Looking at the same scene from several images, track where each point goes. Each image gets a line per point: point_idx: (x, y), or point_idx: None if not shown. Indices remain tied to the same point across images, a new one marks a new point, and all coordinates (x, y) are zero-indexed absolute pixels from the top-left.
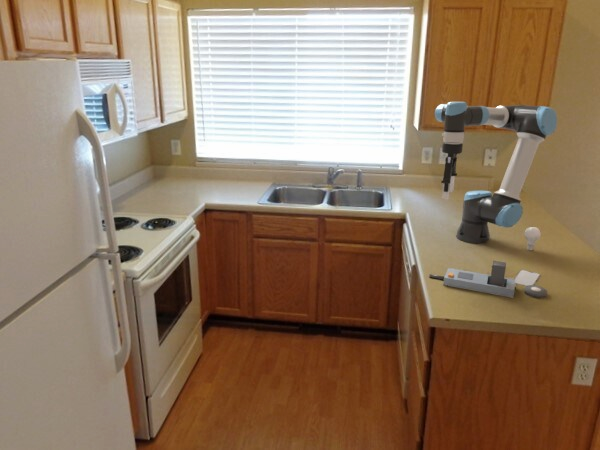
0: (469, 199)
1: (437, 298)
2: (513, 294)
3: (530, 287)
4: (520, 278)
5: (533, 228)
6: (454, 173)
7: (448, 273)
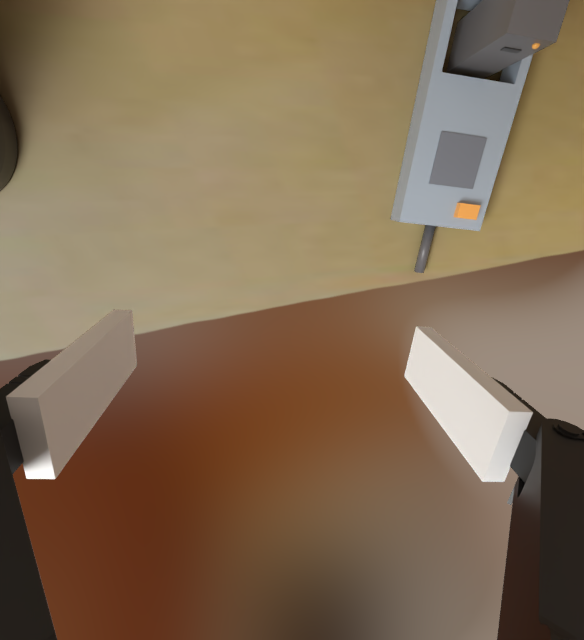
0: None
1: (552, 238)
2: None
3: None
4: None
5: None
6: (1, 440)
7: (445, 218)
